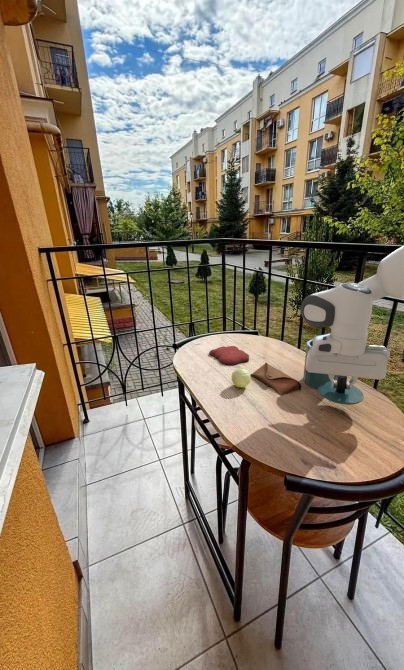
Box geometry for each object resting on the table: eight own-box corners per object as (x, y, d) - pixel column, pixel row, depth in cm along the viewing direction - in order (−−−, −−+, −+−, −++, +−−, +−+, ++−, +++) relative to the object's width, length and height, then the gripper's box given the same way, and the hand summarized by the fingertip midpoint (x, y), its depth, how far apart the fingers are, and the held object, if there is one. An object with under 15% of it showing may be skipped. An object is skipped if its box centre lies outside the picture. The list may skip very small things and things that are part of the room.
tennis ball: (254, 387, 97) (254, 370, 94) (239, 393, 94) (239, 376, 91) (242, 380, 102) (242, 363, 100) (227, 385, 99) (227, 368, 96)
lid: (369, 394, 81) (373, 375, 79) (352, 412, 74) (356, 392, 72) (329, 380, 90) (331, 363, 88) (310, 394, 83) (312, 376, 80)
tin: (341, 382, 98) (347, 344, 93) (327, 394, 91) (333, 354, 86) (312, 372, 105) (316, 336, 100) (297, 383, 99) (300, 345, 93)
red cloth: (206, 352, 126) (206, 348, 126) (232, 346, 132) (232, 342, 131) (226, 367, 112) (226, 363, 111) (254, 360, 117) (255, 355, 116)
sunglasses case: (248, 374, 105) (256, 358, 104) (260, 378, 109) (268, 362, 108) (282, 396, 90) (291, 378, 89) (295, 400, 94) (304, 383, 93)
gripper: (388, 342, 76) (379, 386, 81) (307, 336, 82) (304, 378, 87) (395, 351, 70) (384, 398, 75) (308, 345, 77) (304, 388, 81)
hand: (340, 387), depth 81 cm, fingers closed on lid, 2 cm apart
